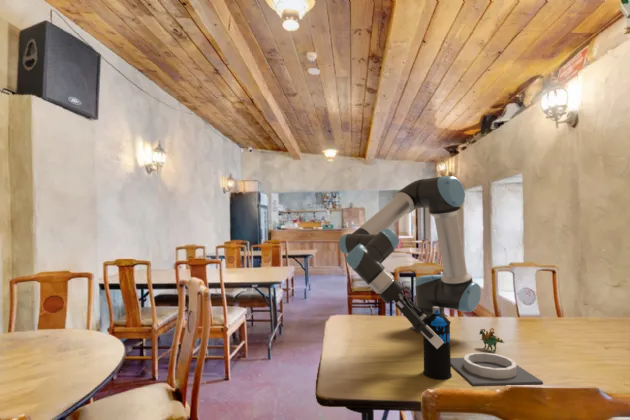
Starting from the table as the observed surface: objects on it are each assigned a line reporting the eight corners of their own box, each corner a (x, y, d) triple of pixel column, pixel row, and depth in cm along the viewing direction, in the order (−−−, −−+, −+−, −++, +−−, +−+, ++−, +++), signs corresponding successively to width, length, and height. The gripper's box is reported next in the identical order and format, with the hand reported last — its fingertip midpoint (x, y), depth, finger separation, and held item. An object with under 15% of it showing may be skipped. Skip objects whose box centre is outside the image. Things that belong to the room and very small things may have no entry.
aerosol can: (419, 369, 116) (417, 304, 117) (444, 368, 117) (443, 303, 118) (429, 380, 108) (428, 310, 109) (456, 379, 109) (455, 309, 109)
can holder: (473, 385, 104) (472, 374, 104) (445, 359, 124) (444, 350, 124) (542, 383, 105) (542, 372, 105) (503, 358, 125) (503, 349, 125)
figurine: (483, 345, 139) (482, 323, 139) (508, 356, 127) (507, 331, 128) (476, 346, 138) (475, 323, 138) (501, 357, 126) (500, 332, 127)
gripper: (380, 288, 129) (426, 334, 125) (375, 302, 105) (432, 361, 101) (395, 273, 128) (442, 319, 124) (394, 284, 104) (452, 342, 100)
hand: (438, 338), depth 112 cm, fingers open, 13 cm apart
